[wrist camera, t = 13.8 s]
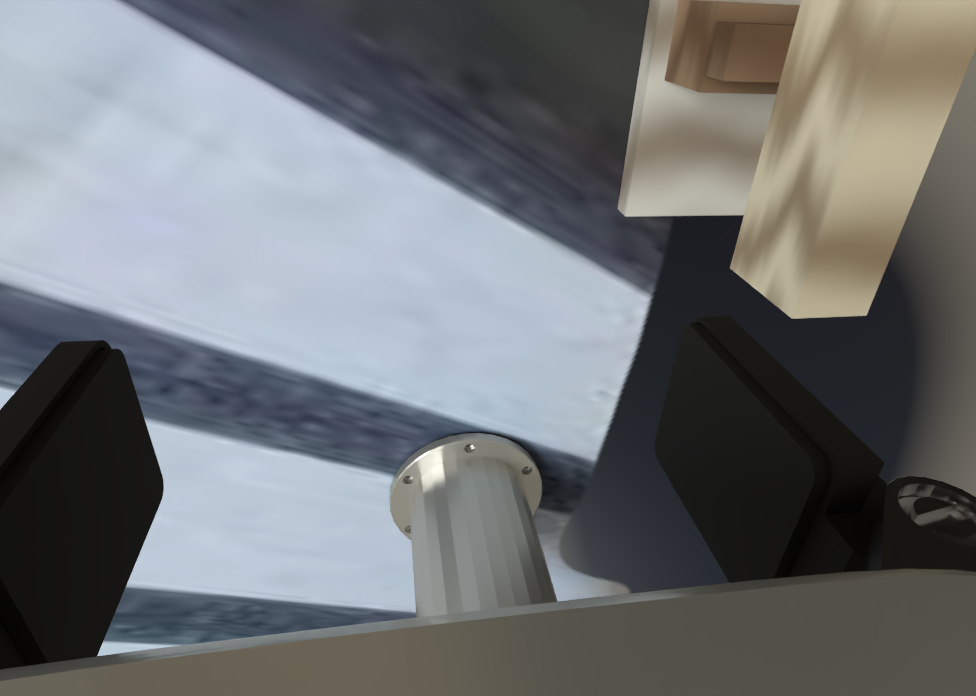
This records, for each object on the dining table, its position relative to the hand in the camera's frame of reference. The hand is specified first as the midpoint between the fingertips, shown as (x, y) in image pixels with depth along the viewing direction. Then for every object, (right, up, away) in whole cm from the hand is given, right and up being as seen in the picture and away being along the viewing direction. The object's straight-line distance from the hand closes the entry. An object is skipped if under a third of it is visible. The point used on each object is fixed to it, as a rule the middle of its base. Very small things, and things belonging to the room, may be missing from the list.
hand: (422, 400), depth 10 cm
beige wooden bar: (+17, +15, +18) cm, 29 cm away
